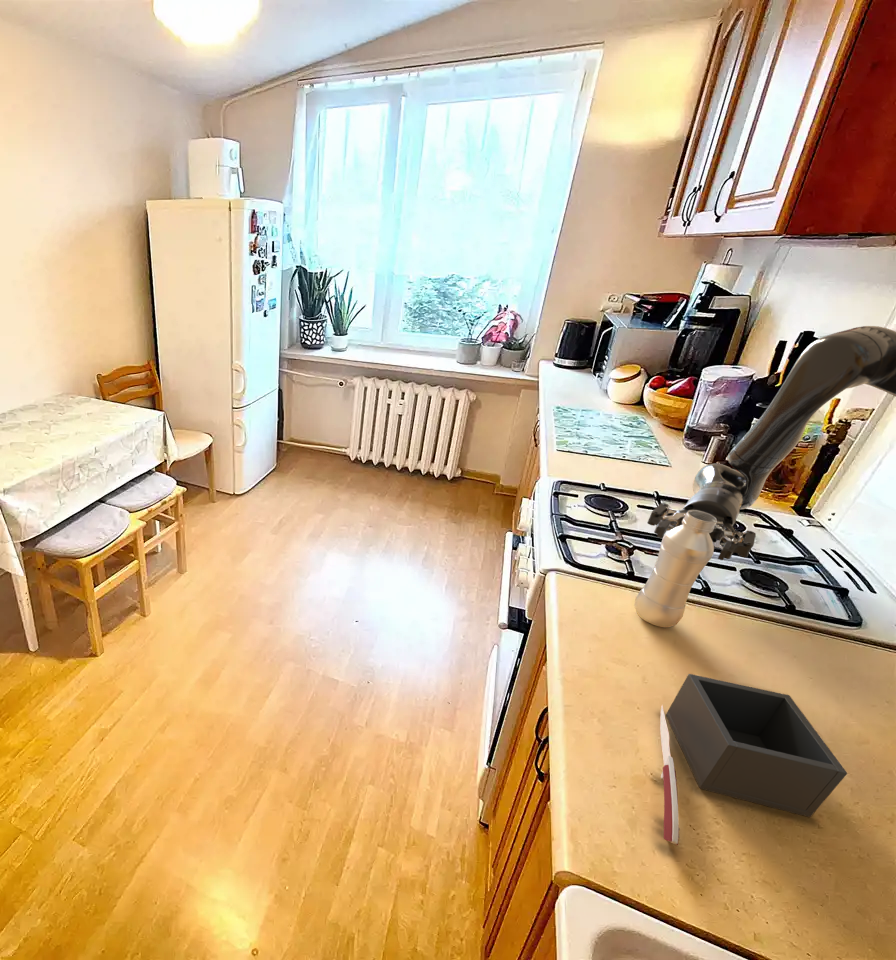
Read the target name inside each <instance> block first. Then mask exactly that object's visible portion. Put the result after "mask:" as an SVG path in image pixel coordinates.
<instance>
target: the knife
mask: <svg viewBox="0 0 896 960" xmlns="http://www.w3.org/2000/svg"><path fill="white" fill-rule="evenodd" d="M659 716H660V717H659V733H660V744H661V752H662V759H663V760H662V761H663V762H662V763H663V767H662V772H661V774H660V780H662V781H663V840H665V841H666V842H669V843H671V844H673V845H676V846H677V847H678V846H679V839H680V830H681V829H680V824H679V821H680V820H679V797H678V779H677V773H676V768H675V763H674V758H673V757H672V756H671V750H670V733H669V729H668V723H667V721H666V720H667V718H666V714H665V711H664V707H663V705H661V708H660V715H659Z"/></svg>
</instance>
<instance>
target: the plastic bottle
mask: <svg viewBox="0 0 896 960" xmlns="http://www.w3.org/2000/svg"><path fill="white" fill-rule="evenodd" d="M716 522H717V519H716V518H715V517H714V516H712V515H710V514H708V513H706V512H702V511H698V510H689V511H688V512H687V513H686V515H685V517H684V518H683V520H682V523H683V525H680V526H678V527H676V528H673V529H672V530H670V531H666V533H665V534H664V535H663V537H662V538H661V539H662V540H661V542H660V546H659V551H658V555H657V558H656V562H655V564H654V567H653V570H652V572H651V574H650V575H649V577H648V579H647V581H646V582H645V584H644V586H643V587H642V588H641V589H640V590H639V592H638V593H637V595H636V596H635V600H634V605H633V606H634V609H635V612H636V614H637V615H638V616H639V618H641V619H642V620H643V621H645V622H647V623H648V624H651V625H654V626H656V627H659V628H670V627H673V626H676V625H677V624H678V623H679V622H680V621H681V620H682V618H683V617H684V614H685V610H686V605H687V604H686V603H687V600H688V598H689V595H690V592H691V590H692V587H693V586H694V584H695V582H696V581H697V579H698V578H699V575H700V574H701V572H702V571H703V569H704V568H705V567H706V566H707V564H708V563H709V561H710V560H711V559H712V558H713V556H714V552H715V546H714V545H713V542H712V539H711V537H710V535H709V533H711V532H712V531H713V530H714V526H715V524H716Z"/></svg>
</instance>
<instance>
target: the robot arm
mask: <svg viewBox="0 0 896 960" xmlns="http://www.w3.org/2000/svg"><path fill="white" fill-rule="evenodd" d="M862 385H867V386H870V387H872V388H876V389H878V390H881V391H883V392H886V393H887V394H890V395H891V396H894V397H896V331H895V330H893V329H890V328H887V327H883V326H877V325H862V326H857V327H853V328H848V329H845V330H841V331H837V332H833V333H829V334H827V335H823V336H822V337H819V338H817V339H816V340H814V341H812V342H811V343H810V344H809V345H807V346H806V348H805V349H803V351H802V352H801V354H800V355H799V356H798V358H797V359H796V361H795V363H793V366H792V368H791V370H790V372H789V373H788V375H787V376H786V378H785V380H784V381H783V382H782V385H781V387H780V388H779V390H778V391H777V393H776V394H775V396H774V397H773V399H772V400H771V402H770V403H769V404H768V406H767V407H766V409H765V410H764V412H763V413H762V414H761V416H760V417H759V418H758V420H757V421H756V422H755V423H754V425H753V426H751V428H750V429H749V430H748V431H747V432H746V433H745V435H743V437H742V438H741V439H740V440H739V442H737V443H736V445H735V446H734V447H733V448H732V449H731V450H730V451H729V453H728V456H727V461H728V463H729V464H730V465H731V467H732V468H731V467H730V466H727V465H726V464H723V463H716V462H715V463H708V464H707V465H704V466H703V467H702V468H700V470H698V472H697V473H696V474H695V476H694V479H693V480H692V481H693V482H692V491H693V495H691V496H690V498H689V499H688V500H687V502H686V503H685V505H684V506H683V508H681V509H679V510H676V511H675V510H673V509H670V507H669V504H667V503H665V502H664V503H663V502H662V503H659V505H657V506H656V507H655V508H654V509H653V510H652V511H651V513H650V515H649V518H648V520H647V524H648V525H650V526H652V527H653V526H655V529H654V531H653V533H654V534H656V538H659V539H663V536H664V535H665V534H666V533H667V532H668V531H670V530H672V529H673V528H676V527H678V526H680V525H683V523H682V520H683V518H684V517H685V515H686V513H687V512H688V511H689V510H698V511H702V512H706V513H708V514H710V515H712V516H714V517H715V518H716V519H717V522H716V524H715V526H714V530H713V531H712V532H711V533H709V535H710V537H711V539H712V542H713V545H714V548H718V549H719V548H720V550H721V551H720V553H719V555H718V556H717V559H719V560H721V561H724V559H726V560H731V558H732V556H733V554H737V555H738V556H739V557H742V558H748V556H749V553H750V552H751V550H752V548H753V547H754V545H755V540H756V532H754V531H752V530H746V531H743V532H740V531H737V530H735V528H734V525H735V524H736V522H737V519H738V517H739V514H740V510H745V509H748V508H750V507H751V506H752V505H754V504H755V503H756V502H757V500H758V499H759V497H760V495H761V493H762V490H763V488H764V485H765V483H766V480H767V478H768V477H769V475H770V474H771V473H772V472H773V470H774V469H775V468H776V467H777V466H778V465H779V464H780V463H781V462H782V461H783V460H784V459H785V458H786V457H787V456H788V455H789V454H790V453H791V452H792V451H793V450H794V449H795V447H796V446H797V445H798V443H799V442H800V441H801V439H802V437H803V434H804V432H805V430H806V426H807V425H808V423H809V421H810V420H811V419H812V417H813V416H814V415H815V414H816V413H817V412H818V411H819V410H820V409H821V408H822V407H823V406H824V405H825V404H827V403H829V401H831V400H832V399H833V398H835V397H836V396H838V395H839V394H841V393H842V392H843V391H845V390H848V389H852V388H855V387H856V388H857V387H858V386H862Z"/></svg>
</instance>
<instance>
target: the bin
mask: <svg viewBox="0 0 896 960" xmlns="http://www.w3.org/2000/svg"><path fill="white" fill-rule="evenodd" d="M665 718H666V720H667V721H668V723H669V725H670V728H671V730H672V732H673V734H674V736H675V738H676V740H677V743H678V745H679V747H680V749H681V751H682V753H683V756H684V758H685V761H686V762H687V764H688V767H689V769H690V771H691V773H692V775H693V777H694V780H695V782H696V784H697V786H698V789H700V790H704V791H708V792H712V793H716V794H720V795H723V796H727V797H731V798H734V799H739V800H743V801H746V802H749V803H754V804H758V805H762V806H765V807H769V808H774V809H777V810H781V811H784V812H789V813H792V814H796V815H800V816H804V817H807V818H812V816H813V815H814V814H815V812H816V811H817V810H818V809H819V808H820V806H822V804H823V803H824V802H825V801H826V799H827V798H828V797H829V796H830V795H831V794H832V793H833V791H834V790H835V789H836V788H837V787H838V785H839V784H840V783H841V782H842V781H843V780H844V779H845V778H846V776H847V775H848V772H847V771H846V769H845V767H843V765H842V764H841V763H840V761H839V760H838V759H837V757H836V756H835V755H834V753H833V752H832V750H831V749H830V748H829V746H828V745H827V744H826V742H825V740H823V738H822V737H821V736H820V735H819V733H818V731H817V730H816V729H815V728H814V726H813V725H812V724H811V722H810V721H809V720H808V719H807V717H806V716H805V714H804V712H802V710H801V709H800V707H798V705H797V703H796V702H795V700H794V699H793V698H792V697H791V695H789V694H785V693H781V692H776V691H771V690H767V689H764V688H763V689H762V688H758V687H753V686H749V685H744V684H738V683H734V682H729V681H724V680H720V679H715V678H710V677H706V676H701V675H697V674H693V673H688V674H687V676H686V678H685V680H684V681H683V683H682V685H681V686H680V688H679V690H678V692H677V694H676V696H675V697H674V699H673V701H672V702H671V704H670V706H669V708H668V710H667V711H666V714H665Z"/></svg>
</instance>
